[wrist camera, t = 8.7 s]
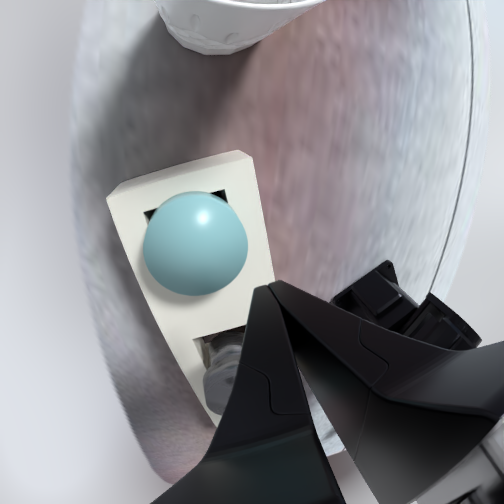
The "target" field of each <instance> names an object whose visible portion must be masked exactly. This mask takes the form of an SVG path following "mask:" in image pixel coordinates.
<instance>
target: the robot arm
mask: <svg viewBox="0 0 504 504" xmlns="http://www.w3.org/2000/svg"><path fill="white" fill-rule="evenodd" d="M339 300H340V301H339ZM333 303H334V304H335V306H334V305H332V304H330V303H328V302H326V301H324V300H322V299H320V298H318V297H315V296H313V295H311V294H309V293H307V292H305V291H303V290H301V289H299V288H297V287H294V286H292V285H290V284H288V283H286V282H284V281H282V280H277V281H274V282H271V283H269V284H268V285H262V286H258V287H255V288H254V290H253V294H252V299H251V304H250V309H249V314H248V319H247V324H246V328H245V333H244V338H243V343H242V347H241V352H240V357H239V364H238V366H237V370H236V375H235V379H234V383H233V386H232V390H231V393H230V396H229V399H228V401H227V404H226V407H225V409H224V412H223V414H222V417H221V419H220V422H219V424H218V427H217V429H216V432H215V434H214V437H213V439H212V441H211V444H210V446H209V448H208V450H207V452H206V454H205V455H204V457H203V458H202V460H201V461H200V462H199V463H198V465H196V466H195V467H194V468H193V469H192V470H191V471H190V472H189V473H187V474H186V475H185V476H184V477H183V478H181V479H180V480H179V481H178V482H177V483H175V484H174V485H173V486H172V487H171V488H169V489H168V490H167V491H166V492H164V493H163V494H162V495H161V496H159V497H158V498H157V499H156V500H154V501H153V502H152V503H150V504H346V502H345V500H344V497H343V495H342V493H341V490H340V488H339V486H338V484H337V481H336V479H335V476H334V474H333V471H332V469H331V467H330V464H329V462H328V459H327V457H326V454H325V452H324V450H323V447H322V445H321V442H320V440H319V438H318V435H317V432H316V429H315V426H314V422H313V419H312V416H311V412H310V408H309V405H308V401H307V398H306V394H305V391H304V387H303V384H302V380H301V376H300V373H299V369H300V370H301V372H302V374H303V376H304V377H305V379H306V381H307V383H308V384H309V386H310V388H311V390H312V391H313V393H314V395H315V396H316V398H317V400H318V402H319V403H320V405H321V407H322V409H323V410H324V412H325V414H326V415H327V417H328V419H329V421H330V422H331V424H332V426H333V427H334V429H335V431H336V432H337V434H338V436H339V438H340V439H341V441H342V443H343V444H344V446H345V448H346V449H347V451H348V453H349V454H350V456H351V457H352V459H353V461H354V463H355V464H356V466H357V468H358V469H359V471H360V473H361V474H362V476H363V478H364V479H365V481H366V483H367V485H368V486H369V488H370V489H371V491H372V493H373V494H374V496H375V497H376V499H377V501H378V502H379V504H410V503H412V502H414V501H417V503H418V504H504V341H502V342H498V343H494V344H491V345H487V346H483V347H479V348H477V346H478V345H479V344H480V343H481V341H482V339H481V338H480V337H479V335H478V334H477V333H476V332H475V331H474V330H473V329H472V328H471V327H470V326H469V325H468V324H467V323H466V322H465V321H464V320H463V319H462V318H461V317H460V316H459V315H458V314H456V313H455V312H454V311H453V310H452V309H450V308H449V307H448V306H447V305H445V304H444V303H443V302H442V301H440V300H439V299H438V298H437V297H435V296H434V295H433V294H432V293H430V292H429V293H428V295H427V296H426V299H425V300H424V301H423V302H422V304H421V305H420V306H419V305H418V304H417V303H416V302H415V301H414V300H413V299H412V298H411V297H410V296H409V295H407V294H406V293H405V292H404V291H403V290H402V289H401V288H400V287H399V285H398V281H397V277H396V274H395V270H394V266H393V263H392V262H391V261H389V260H386V261H385V262H383V263H382V264H380V265H379V266H378V267H376V268H375V269H374V270H372V271H371V272H370V273H368V274H367V275H365V276H364V277H363V278H361V279H360V280H358V281H357V282H356V283H354V284H353V285H351V286H350V287H348V288H347V289H345V290H344V291H343V292H341V293H340V294H338V295H337V296H335V297H334V299H333ZM297 365H298V366H297ZM298 367H299V369H298Z"/></svg>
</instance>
